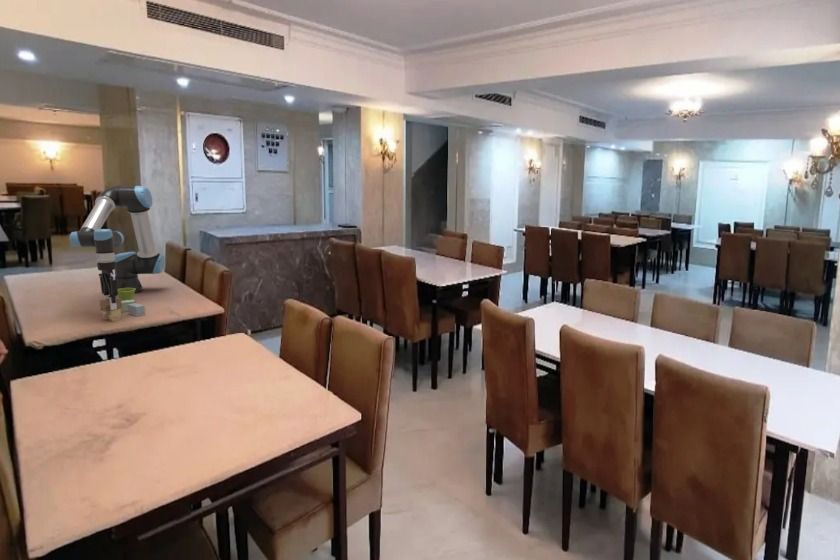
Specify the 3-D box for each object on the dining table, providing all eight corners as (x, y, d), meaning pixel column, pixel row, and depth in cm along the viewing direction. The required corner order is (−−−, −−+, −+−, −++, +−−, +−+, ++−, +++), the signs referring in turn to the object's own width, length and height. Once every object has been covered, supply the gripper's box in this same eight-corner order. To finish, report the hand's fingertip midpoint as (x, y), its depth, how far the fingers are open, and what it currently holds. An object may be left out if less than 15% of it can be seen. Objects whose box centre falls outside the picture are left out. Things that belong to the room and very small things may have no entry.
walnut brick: (104, 311, 243) (103, 301, 242) (100, 310, 245) (99, 300, 244) (122, 308, 249) (120, 298, 248) (118, 307, 251) (116, 297, 250)
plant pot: (123, 302, 277) (122, 287, 275) (140, 303, 277) (139, 287, 275) (113, 307, 268) (111, 291, 266) (130, 307, 268) (128, 291, 266)
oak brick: (103, 318, 248) (102, 309, 247) (111, 316, 252) (110, 307, 251) (113, 321, 245) (112, 311, 244) (121, 319, 248) (120, 309, 247)
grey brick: (128, 314, 257) (127, 304, 256) (136, 312, 260) (135, 302, 259) (137, 316, 253) (136, 307, 252) (145, 314, 256) (144, 305, 255)
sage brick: (117, 312, 259) (116, 303, 258) (117, 310, 262) (116, 301, 261) (135, 310, 263) (134, 301, 262) (134, 308, 267) (133, 299, 266)
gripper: (89, 260, 245) (95, 308, 249) (105, 264, 235) (111, 312, 239) (106, 259, 251) (111, 305, 255) (122, 262, 241) (128, 309, 245)
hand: (111, 308), depth 247 cm, fingers closed on walnut brick, 4 cm apart
